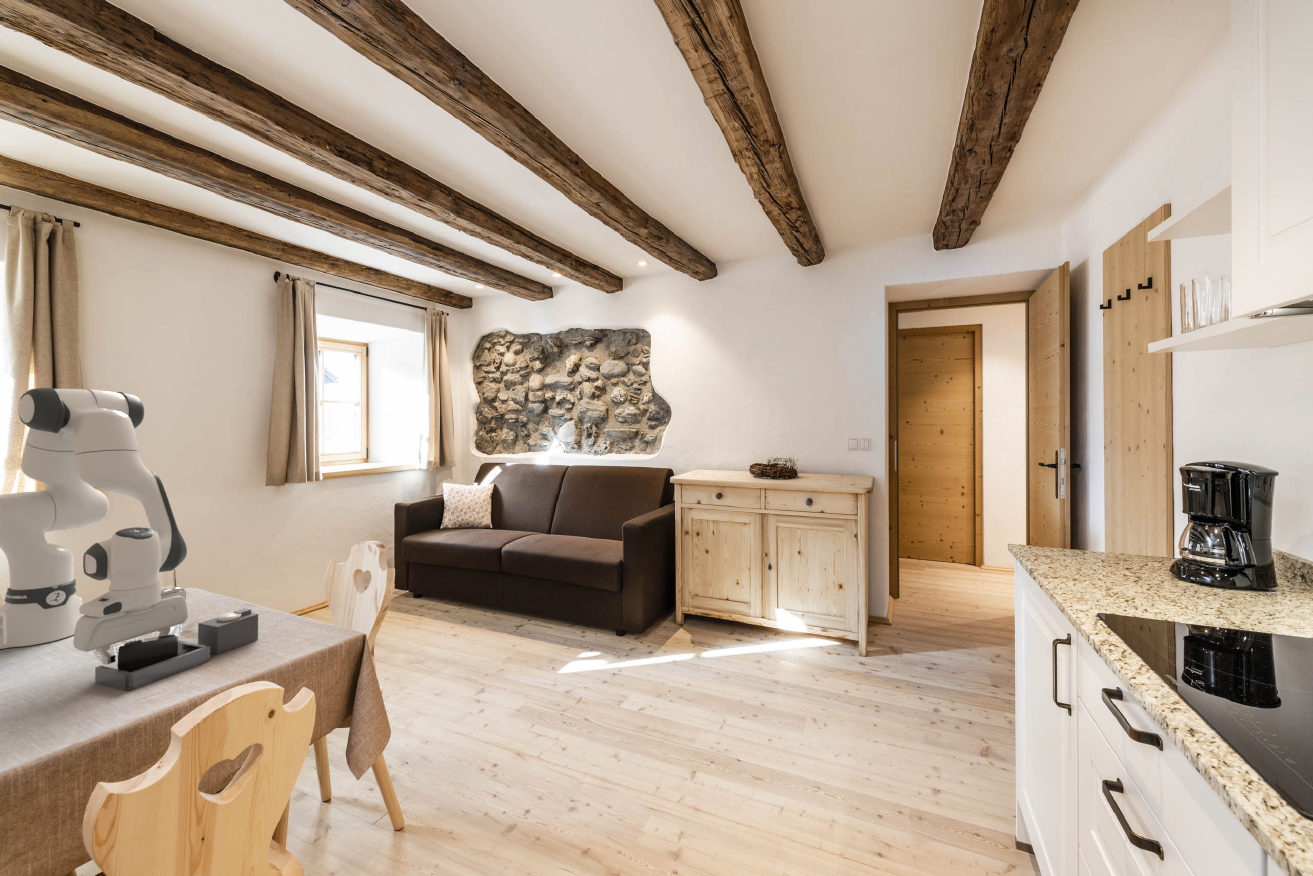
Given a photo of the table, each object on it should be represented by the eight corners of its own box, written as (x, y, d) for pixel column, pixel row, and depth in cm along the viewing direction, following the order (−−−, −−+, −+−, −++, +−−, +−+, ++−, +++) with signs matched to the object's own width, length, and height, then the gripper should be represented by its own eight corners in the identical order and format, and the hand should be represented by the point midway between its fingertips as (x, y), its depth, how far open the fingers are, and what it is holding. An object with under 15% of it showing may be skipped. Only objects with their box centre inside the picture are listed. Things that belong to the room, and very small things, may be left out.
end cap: (117, 680, 118) (117, 650, 118) (120, 669, 123) (120, 640, 123) (177, 668, 124) (177, 639, 124) (178, 657, 130) (178, 630, 130)
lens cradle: (95, 682, 116) (95, 667, 116) (178, 654, 132) (179, 640, 132) (127, 691, 113) (128, 675, 113) (209, 660, 128) (210, 646, 128)
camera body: (197, 650, 134) (198, 619, 134) (239, 636, 143) (239, 607, 143) (217, 654, 132) (217, 623, 132) (257, 639, 141) (258, 610, 141)
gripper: (177, 583, 135) (176, 636, 135) (69, 609, 116) (68, 671, 116) (194, 586, 133) (193, 640, 133) (87, 612, 114) (86, 675, 114)
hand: (134, 655), depth 124 cm, fingers open, 8 cm apart
